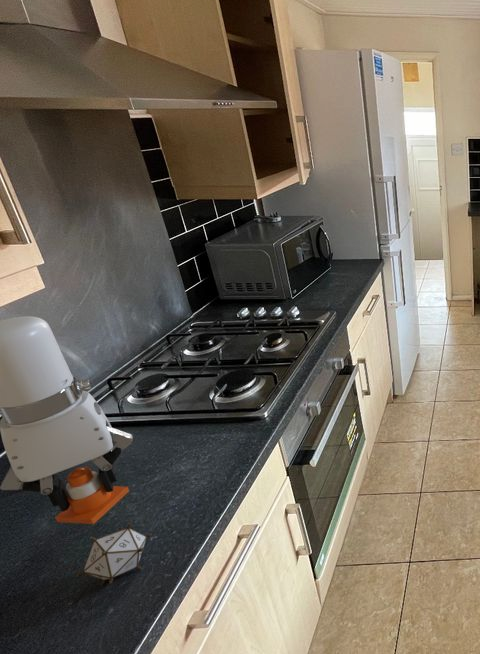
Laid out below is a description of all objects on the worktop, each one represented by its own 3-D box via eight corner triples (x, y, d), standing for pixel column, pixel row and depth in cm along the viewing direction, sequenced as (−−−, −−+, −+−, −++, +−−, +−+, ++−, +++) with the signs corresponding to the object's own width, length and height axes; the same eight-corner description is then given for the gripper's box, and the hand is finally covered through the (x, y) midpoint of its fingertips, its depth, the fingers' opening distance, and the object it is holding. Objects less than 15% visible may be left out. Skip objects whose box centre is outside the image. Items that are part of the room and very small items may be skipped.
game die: (134, 590, 72) (109, 593, 64) (82, 579, 71) (49, 580, 63) (170, 531, 78) (151, 527, 70) (122, 519, 76) (97, 514, 69)
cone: (57, 522, 64) (36, 484, 61) (96, 489, 70) (78, 453, 67) (93, 524, 64) (74, 486, 61) (129, 491, 69) (113, 455, 66)
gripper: (120, 367, 67) (155, 454, 74) (-44, 414, 57) (14, 511, 63) (120, 389, 62) (158, 480, 68) (-61, 445, 51) (4, 547, 58)
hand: (88, 494), depth 66 cm, fingers closed on cone, 4 cm apart
